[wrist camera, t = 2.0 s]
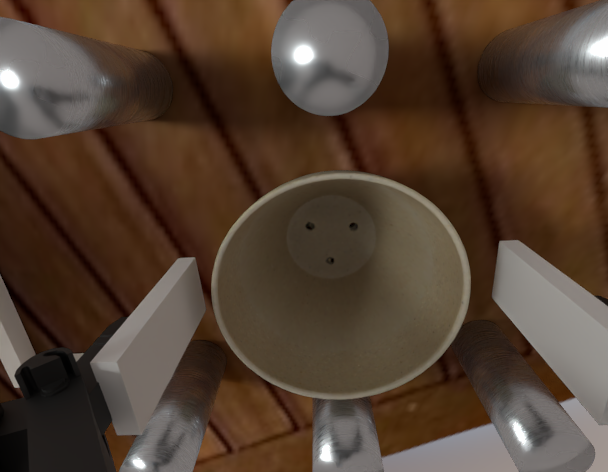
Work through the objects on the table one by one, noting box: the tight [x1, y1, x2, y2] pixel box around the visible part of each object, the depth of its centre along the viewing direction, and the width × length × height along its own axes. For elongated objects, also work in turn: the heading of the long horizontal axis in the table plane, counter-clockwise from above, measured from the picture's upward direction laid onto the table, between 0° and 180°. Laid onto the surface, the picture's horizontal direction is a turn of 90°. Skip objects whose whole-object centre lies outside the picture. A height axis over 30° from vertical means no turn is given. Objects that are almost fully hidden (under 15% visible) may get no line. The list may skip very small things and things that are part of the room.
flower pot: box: [211, 170, 471, 400], centre depth 17 cm, size 10×10×7 cm
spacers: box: [0, 0, 608, 472], centre depth 17 cm, size 21×20×8 cm
